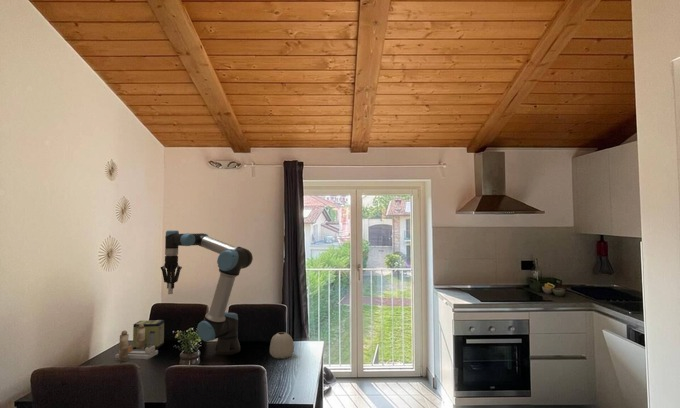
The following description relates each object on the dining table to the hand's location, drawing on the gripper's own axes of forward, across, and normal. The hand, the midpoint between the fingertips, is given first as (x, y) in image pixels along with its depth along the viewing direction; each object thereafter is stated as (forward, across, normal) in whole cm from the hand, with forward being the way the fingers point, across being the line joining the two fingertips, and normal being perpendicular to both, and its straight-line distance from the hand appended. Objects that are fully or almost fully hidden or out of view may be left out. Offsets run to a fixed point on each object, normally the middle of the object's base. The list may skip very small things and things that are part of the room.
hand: (170, 293), depth 237 cm
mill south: (+34, +17, +2) cm, 38 cm away
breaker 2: (+32, +6, +10) cm, 34 cm away
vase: (+35, -71, +5) cm, 79 cm away
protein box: (+35, +18, -8) cm, 40 cm away
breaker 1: (+32, +20, +10) cm, 39 cm away
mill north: (+34, +17, +18) cm, 42 cm away
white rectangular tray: (+34, +14, +10) cm, 38 cm away
